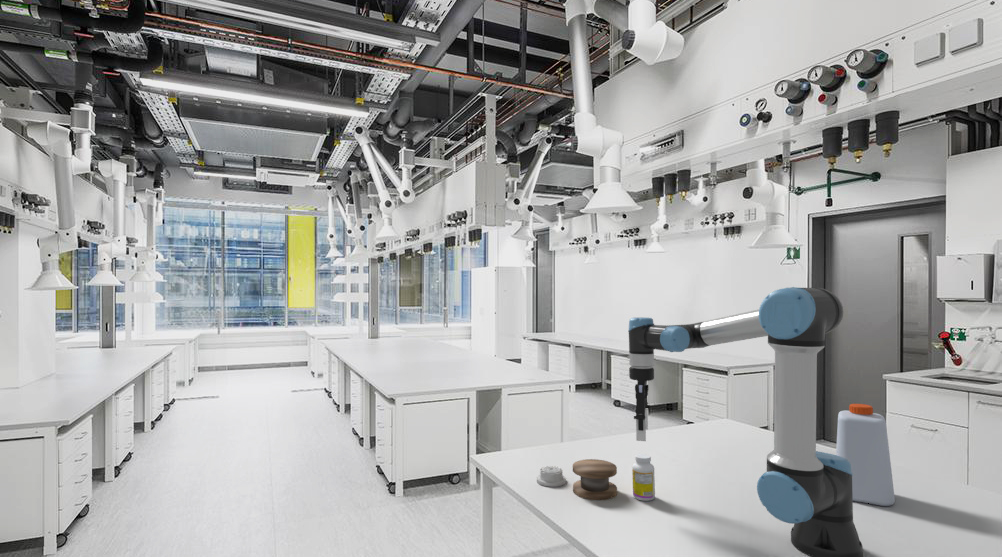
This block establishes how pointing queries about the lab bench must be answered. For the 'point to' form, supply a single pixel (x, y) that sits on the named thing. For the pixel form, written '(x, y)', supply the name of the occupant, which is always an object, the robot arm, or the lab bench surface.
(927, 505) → the lab bench surface
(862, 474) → the plastic bottle
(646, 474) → the supplement bottle
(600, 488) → the bobbin
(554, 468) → the mechanical component
